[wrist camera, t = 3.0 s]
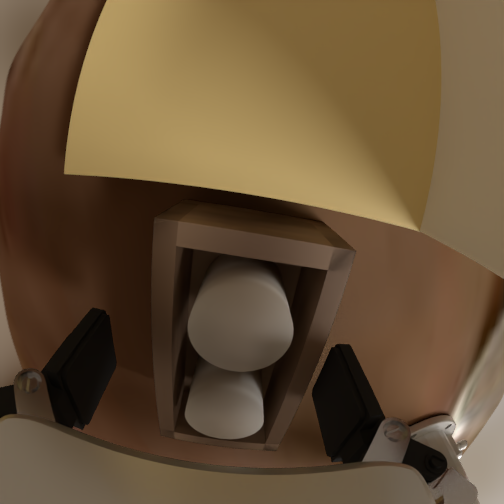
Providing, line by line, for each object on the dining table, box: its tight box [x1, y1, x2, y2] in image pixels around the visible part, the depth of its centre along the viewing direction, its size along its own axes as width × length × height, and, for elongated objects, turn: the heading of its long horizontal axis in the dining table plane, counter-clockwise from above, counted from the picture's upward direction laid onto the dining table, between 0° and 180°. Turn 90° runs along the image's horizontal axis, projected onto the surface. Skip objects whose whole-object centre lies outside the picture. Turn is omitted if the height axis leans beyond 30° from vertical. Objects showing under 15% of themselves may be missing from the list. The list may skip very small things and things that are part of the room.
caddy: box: [151, 199, 356, 451], centre depth 12 cm, size 6×12×5 cm, turn 170°
